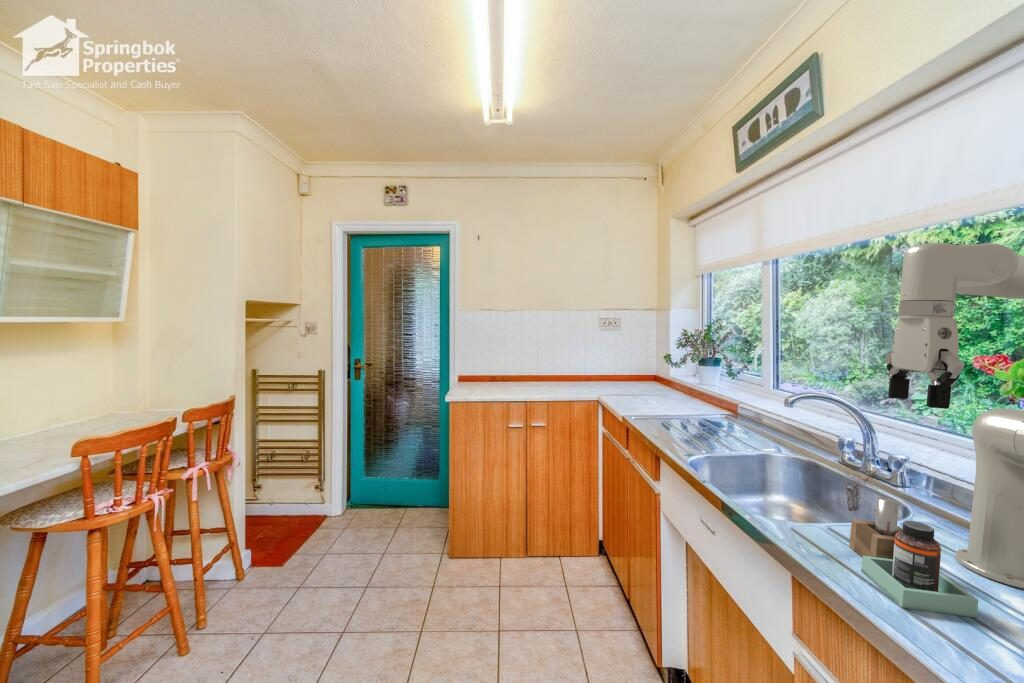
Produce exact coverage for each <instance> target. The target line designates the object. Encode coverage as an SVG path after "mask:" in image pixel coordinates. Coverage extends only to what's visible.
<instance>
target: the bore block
mask: <svg viewBox="0 0 1024 683" xmlns="http://www.w3.org/2000/svg"><path fill="white" fill-rule="evenodd" d="M850 523H851V524H850V525H851V526H850V527H851V528H850V535H849V536H850V538H849V549H850V550H852V551H853V552H854V553H856V554H857V555H858V556H859V557H861V558H862V556H869V557H877V558H886V559H893V555H894V542H895V537H894V536H885V535H881V534H879V533H878V532H876V531H875V525H876V521H871V520H862V519H853V518H852V519H851V522H850ZM901 530H903V528H902V527H901V526H900V525H897V532H899V531H901Z"/></svg>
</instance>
